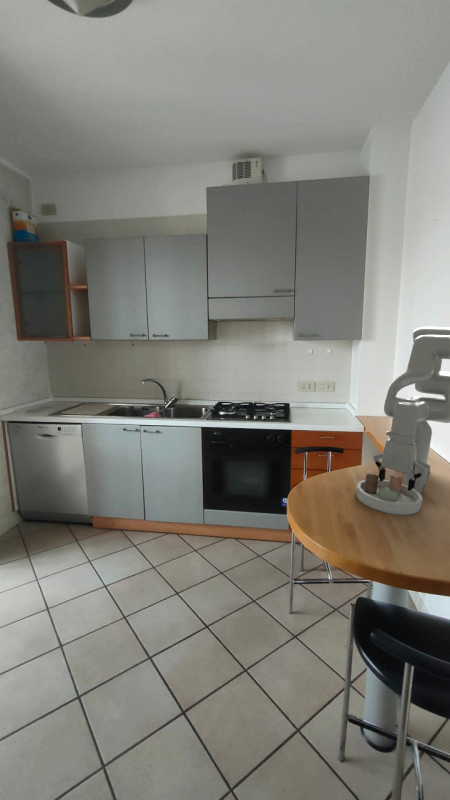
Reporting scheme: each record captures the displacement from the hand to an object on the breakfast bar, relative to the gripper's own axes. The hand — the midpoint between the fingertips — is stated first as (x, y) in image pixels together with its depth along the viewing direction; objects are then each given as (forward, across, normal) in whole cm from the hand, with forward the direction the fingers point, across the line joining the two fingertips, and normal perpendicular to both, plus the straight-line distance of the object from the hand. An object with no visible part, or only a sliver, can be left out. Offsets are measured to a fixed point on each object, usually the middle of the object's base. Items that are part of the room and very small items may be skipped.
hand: (395, 484), depth 126 cm
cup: (+4, +3, +11) cm, 12 cm away
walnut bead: (+3, -6, -6) cm, 9 cm away
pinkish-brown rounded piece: (+3, 0, 0) cm, 3 cm away
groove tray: (+4, 0, -6) cm, 7 cm away
